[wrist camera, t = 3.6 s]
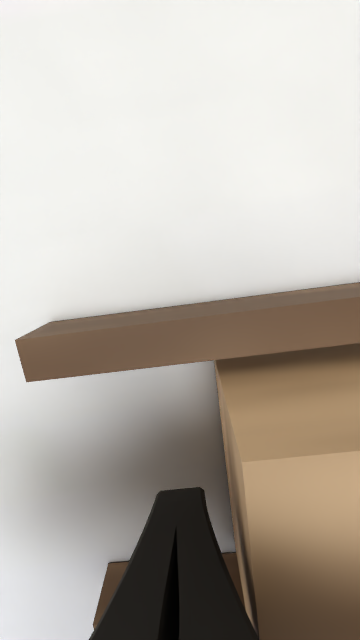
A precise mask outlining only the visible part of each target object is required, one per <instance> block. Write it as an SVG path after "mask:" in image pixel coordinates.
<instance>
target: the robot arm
mask: <svg viewBox="0 0 360 640" xmlns="http://www.w3.org/2000/svg"><path fill="white" fill-rule="evenodd" d="M89 640H259V638H258V636H257V634H256V632H255V630H254V627H253V625H252V623H251V621H250V619H249V617H248V615H247V613H246V610H245V608H244V606H243V604H242V601H241V599H240V597H239V595H238V592H237V590H236V588H235V586H234V583H233V581H232V578H231V576H230V574H229V571H228V569H227V566H226V564H225V561H224V558H223V556H222V553H221V551H220V548H219V545H218V543H217V540H216V537H215V534H214V531H213V528H212V525H211V521H210V518H209V514H208V511H207V506H206V500H205V493H204V490H203V489H202V488H200V487H195V488H185V489H175V490H165V491H160V492H159V493H158V494H157V495H156V498H155V501H154V504H153V507H152V510H151V512H150V515H149V517H148V520H147V522H146V525H145V527H144V530H143V532H142V534H141V537H140V539H139V541H138V543H137V546H136V548H135V550H134V552H133V554H132V556H131V559H130V561H129V563H128V565H127V567H126V570H125V572H124V574H123V576H122V578H121V580H120V582H119V584H118V586H117V588H116V590H115V591H114V593H113V595H112V597H111V599H110V601H109V603H108V605H107V607H106V609H105V611H104V613H103V615H102V617H101V619H100V620H99V622H98V624H97V626H96V628H95V630H94V631H93V633H92V635H91V637H90V639H89Z"/></svg>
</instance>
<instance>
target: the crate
mask: <svg viewBox="0 0 360 640" xmlns="http://www.w3.org/2000/svg"><path fill="white" fill-rule="evenodd" d="M214 364H215V373H216V381H217V390H218V399H219V408H220V416H221V425H222V434H223V443H224V451H225V460H226V469H227V478H228V487H229V495H230V504H231V513H232V522H233V530H234V539H235V548H236V554H237V560H238V566H239V572H240V578H241V584H242V590H243V596H244V602H245V608H246V613H247V615H248V617H249V619H250V621H251V623H252V625H253V627H254V630H255V632H256V634H257V636H258V638H259V640H360V343H355V344H346V345H338V346H329V347H321V348H313V349H304V350H296V351H287V352H279V353H270V354H262V355H253V356H245V357H236V358H228V359H219V360H214Z"/></svg>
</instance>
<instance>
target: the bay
mask: <svg viewBox="0 0 360 640" xmlns="http://www.w3.org/2000/svg"><path fill="white" fill-rule="evenodd" d="M15 342H16V346H17V350H18V353H19V357H20V361H21V364H22V368H23V372H24V375H25V379H26V382H33V381H41V380H50V379H58V378H66V377H75V376H83V375H92V374H100V373H109V372H117V371H126V370H134V369H143V368H151V367H160V366H168V365H177V364H185V363H194V362H202V361H211V360H219V359H228V358H236V357H245V356H253V355H262V354H270V353H279V352H287V351H296V350H304V349H313V348H321V347H329V346H338V345H346V344H355V343H360V282H359V283H351V284H343V285H336V286H328V287H320V288H312V289H304V290H297V291H289V292H281V293H273V294H265V295H258V296H250V297H242V298H234V299H226V300H219V301H211V302H203V303H195V304H188V305H180V306H172V307H164V308H156V309H149V310H141V311H133V312H125V313H117V314H110V315H102V316H94V317H86V318H78V319H71V320H63V321H55V322H49V323H47V324H45V325H43V326H41V327H40V328H38V329H36V330H34V331H32V332H30V333H28V334H26V335H24V336H22V337H20V338H18V339H16V340H15ZM222 556H223V558H224V561H225V564H226V566H227V569H228V571H229V574H230V576H231V578H232V581H233V583H234V586H235V588H236V590H237V592H238V595H239V597H240V599H241V601H242V604H243V606H244V608H245V602H244V596H243V590H242V584H241V578H240V572H239V566H238V560H237V554H236V553H227V554H222ZM128 563H129V562H119V563H108V567H107V571H106V575H105V579H104V583H103V587H102V591H101V595H100V599H99V602H98V606H97V610H96V614H95V618H94V622H93V627H94V630H95V628H96V626H97V624H98V622H99V620H100V619H101V617H102V615H103V613H104V611H105V609H106V607H107V605H108V603H109V601H110V599H111V597H112V595H113V593H114V591H115V590H116V588H117V586H118V584H119V582H120V580H121V578H122V576H123V574H124V572H125V570H126V567H127V565H128ZM245 610H246V608H245Z"/></svg>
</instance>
